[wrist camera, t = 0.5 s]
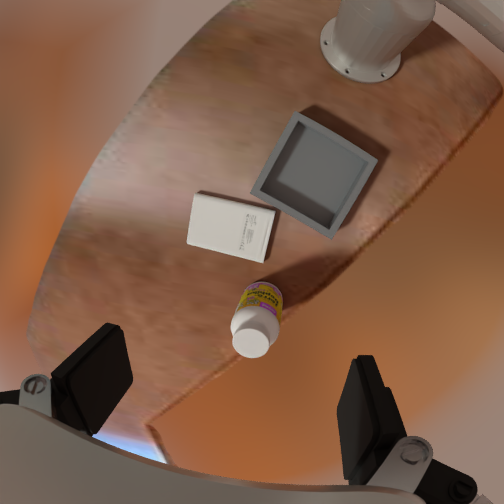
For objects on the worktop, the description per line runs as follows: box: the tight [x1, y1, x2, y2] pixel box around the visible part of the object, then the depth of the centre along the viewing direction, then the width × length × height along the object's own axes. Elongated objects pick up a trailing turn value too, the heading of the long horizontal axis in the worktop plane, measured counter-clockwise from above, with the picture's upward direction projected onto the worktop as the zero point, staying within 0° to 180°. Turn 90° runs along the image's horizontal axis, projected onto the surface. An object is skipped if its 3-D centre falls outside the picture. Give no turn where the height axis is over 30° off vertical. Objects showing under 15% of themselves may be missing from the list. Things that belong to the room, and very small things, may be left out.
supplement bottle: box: [231, 282, 283, 358], centre depth 40 cm, size 7×7×13 cm
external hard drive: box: [187, 193, 276, 263], centre depth 43 cm, size 2×8×12 cm
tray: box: [250, 111, 378, 240], centre depth 38 cm, size 13×13×3 cm
